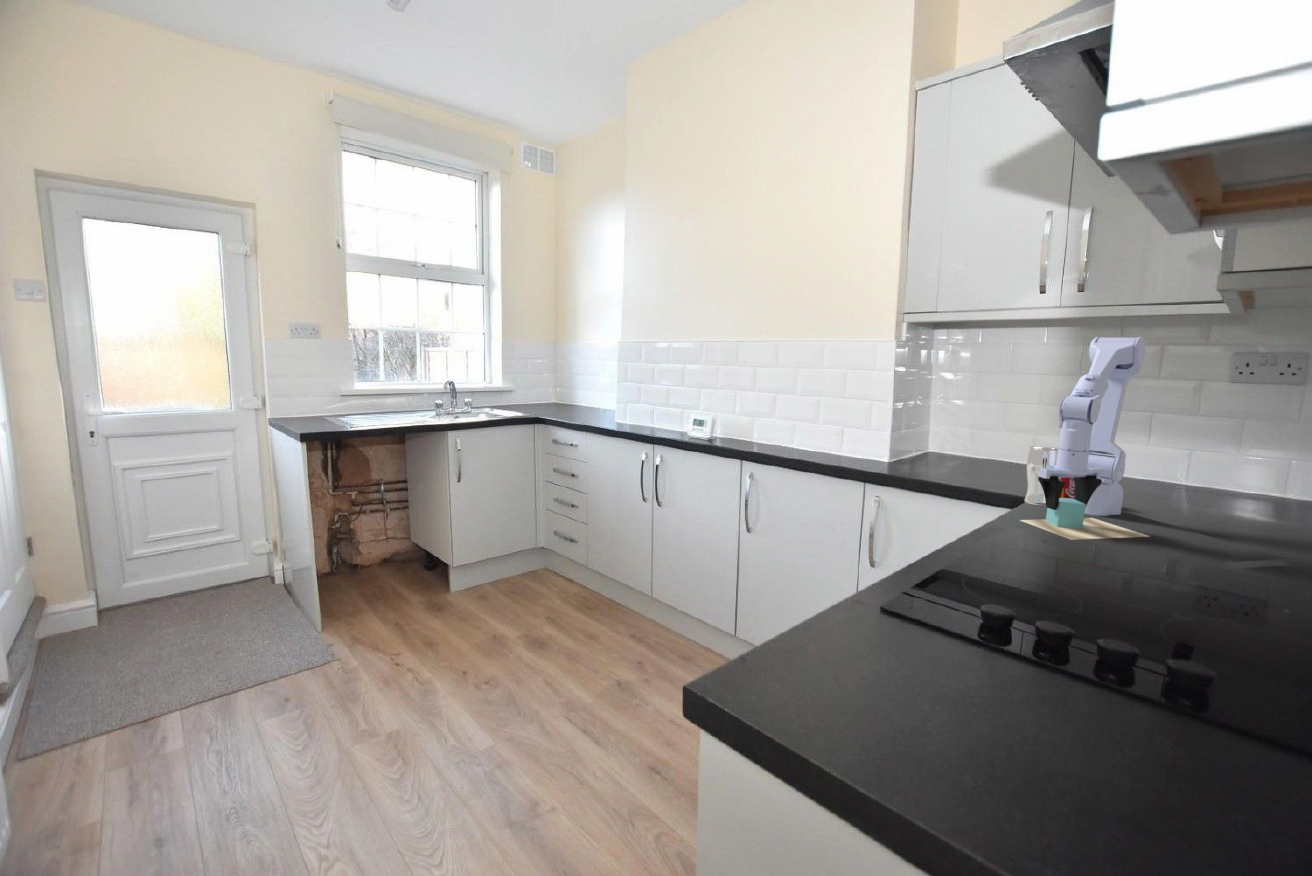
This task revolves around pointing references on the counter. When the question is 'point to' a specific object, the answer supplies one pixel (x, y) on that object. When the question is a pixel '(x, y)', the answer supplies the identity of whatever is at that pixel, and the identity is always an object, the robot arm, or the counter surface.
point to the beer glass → (1035, 462)
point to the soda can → (1068, 488)
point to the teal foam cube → (1067, 514)
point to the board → (1087, 530)
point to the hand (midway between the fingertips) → (1065, 508)
